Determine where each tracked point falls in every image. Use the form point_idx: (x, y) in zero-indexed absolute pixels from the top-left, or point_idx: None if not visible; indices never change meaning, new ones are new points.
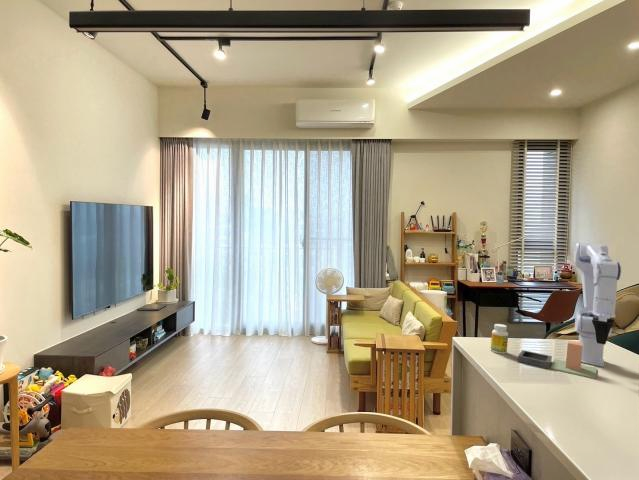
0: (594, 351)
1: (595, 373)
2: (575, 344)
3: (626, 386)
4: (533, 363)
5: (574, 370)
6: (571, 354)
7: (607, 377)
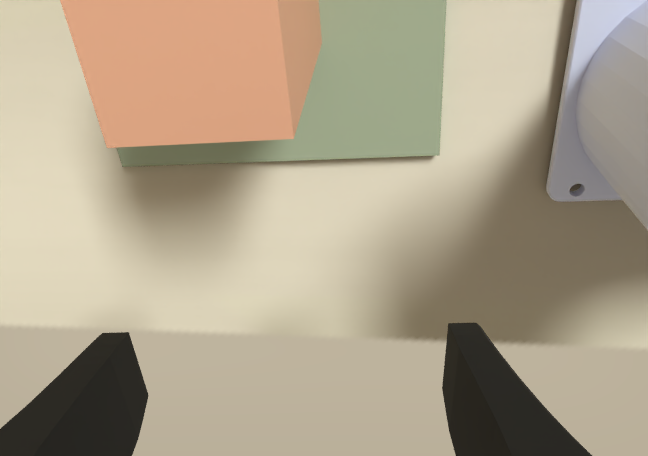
0: (624, 182)
1: (244, 157)
2: (78, 56)
3: (163, 305)
4: None
5: None
6: None
7: (260, 221)
